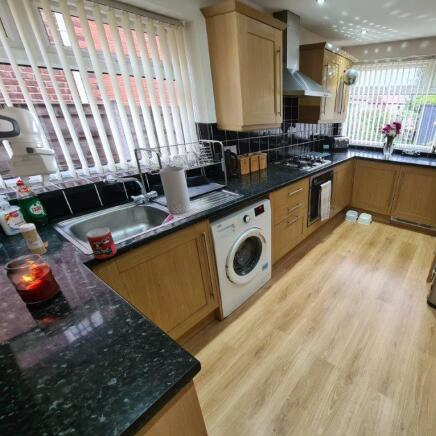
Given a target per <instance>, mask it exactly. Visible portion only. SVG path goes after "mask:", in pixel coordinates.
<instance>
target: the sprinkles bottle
mask: <svg viewBox="0 0 436 436" xmlns="http://www.w3.org/2000/svg"><path fill="white" fill-rule="evenodd" d="M18 230H19V232H20V233H21V234H22V237H23V238H24V240H25V243H26V245H27V247H28V249H29V250H30V252H31V254H32V255H33V254H40V255H39V256H42V255H45V254H46V253H47V251H48V250H47V249H46V247H44V244H43V242H44V241H42V238H41V236H40V234H39V232H38V231H37V228H36V225H35V224H34V223H31V222H29V223H24V224H21V225H19V226H18Z"/></svg>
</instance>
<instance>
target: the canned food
mask: <svg viewBox="0 0 436 436" xmlns="http://www.w3.org/2000/svg"><path fill="white" fill-rule="evenodd" d="M85 237H86V238H87V241H88V244H89V246H90V248H91V251H92V254H93V256H94V257H95V258H96V259H97V260H106V259H109V258H111V257H113V256H115V255H116V254H117V247H116V244H115V242H114V238H113V236H112V233H111V230H110V228H109V227H99V228H94V229H92V230H90V231H88V232H86V234H85Z"/></svg>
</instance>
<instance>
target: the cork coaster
mask: <svg viewBox="0 0 436 436" xmlns="http://www.w3.org/2000/svg"><path fill="white" fill-rule="evenodd" d="M42 242H43V244H44V247H45V248H49V241H48V240H46V241H42Z"/></svg>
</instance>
